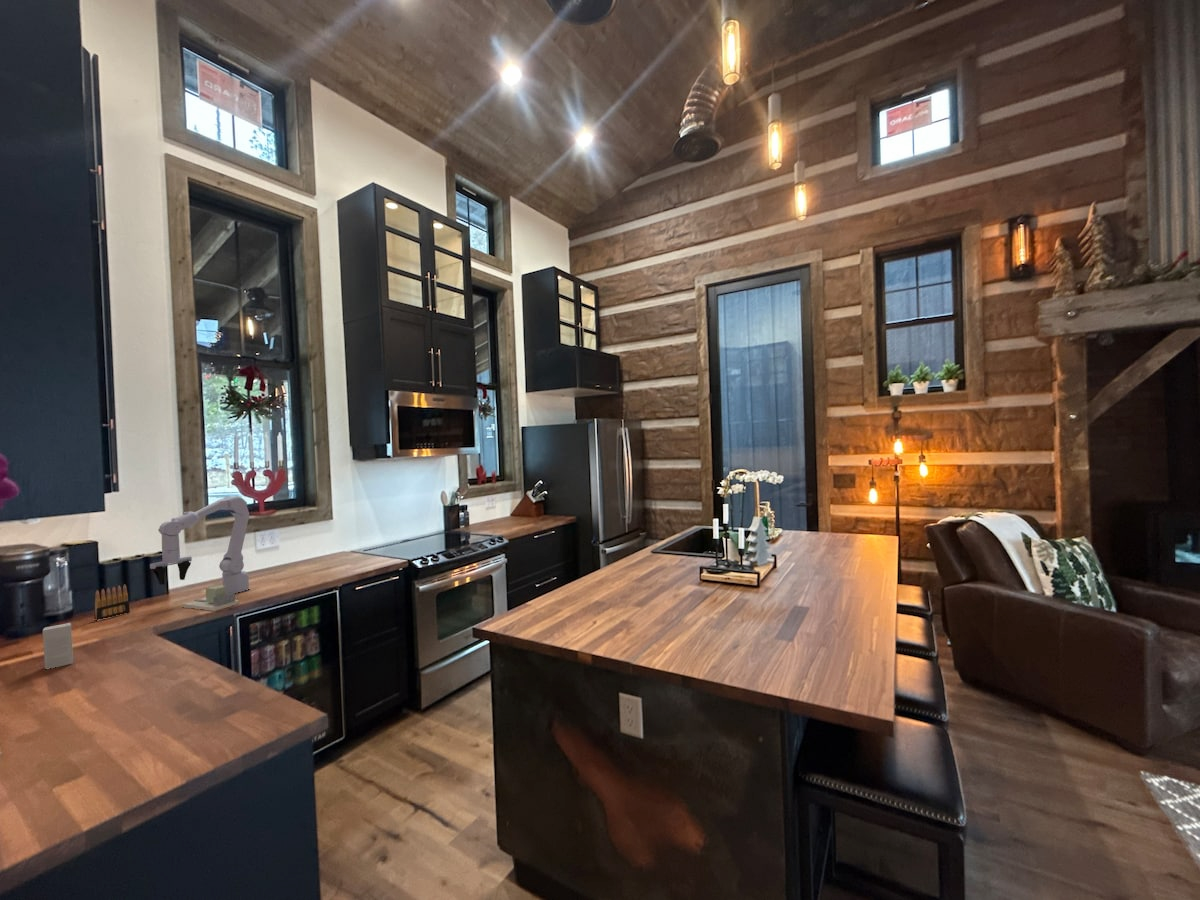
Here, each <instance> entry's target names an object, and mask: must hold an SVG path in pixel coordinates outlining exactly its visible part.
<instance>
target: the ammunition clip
mask: <svg viewBox="0 0 1200 900" xmlns="http://www.w3.org/2000/svg"><path fill="white" fill-rule="evenodd" d="M127 588H128V587H127V585H126V584H125V583H124V584H123V587H121V586H120V585H118V587H117V589H116V587H115V586H113V587H112V588H110V587H107V589H106V592H105V589H104V588H102V589H101V591H100V592H99V590H98V589H96V591H95V595H94V596H95V600H94V615H93V616H94V617H93V618H94V619H97V620H98V619H103V618H108V617H112V616H116V615H120V614H124V613H127V614H129V613H128V612H130V613H131V611H130V601H129V594H128V589H127ZM111 589H112V590H111ZM116 590H117V591H116ZM124 615H125V614H124ZM120 616H121V615H120ZM116 617H117V616H116ZM112 618H113V617H112ZM94 619H93V620H94ZM108 619H109V618H108Z"/></svg>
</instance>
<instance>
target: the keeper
mask: <svg viewBox="0 0 1200 900" xmlns="http://www.w3.org/2000/svg"><path fill="white" fill-rule="evenodd" d="M224 594H226V590H225V586H223V585H212V586H209V587H205V598H206V602H207V603H214V601H213V597H217V596H220V595H224Z"/></svg>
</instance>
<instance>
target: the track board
mask: <svg viewBox="0 0 1200 900" xmlns="http://www.w3.org/2000/svg"><path fill="white" fill-rule="evenodd" d="M235 604H237V605H239V604H240V600H238V599H235V602H231V603H228V604H224V605H221V606H214V603H207V602H206V597H204V598H203V597H202V598H198V599H194V600H193V601H192V600H191V601H188V602H184V603H182V608H183V607H184V609H191V608H195V609H194V610H200V609H204V610H203V611H208V610H209V611H210V612H211V611H212V612H216V611H220V610H223V609H226V608H229V607H233V606H232V605H234V606H236V605H235Z"/></svg>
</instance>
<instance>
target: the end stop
mask: <svg viewBox="0 0 1200 900" xmlns="http://www.w3.org/2000/svg"><path fill="white" fill-rule="evenodd" d="M235 600H236V594H235V593H228V594H224V595H220V596H217V597H213V601H214V606H221V605H224V604H228V603H231V602H235Z"/></svg>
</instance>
